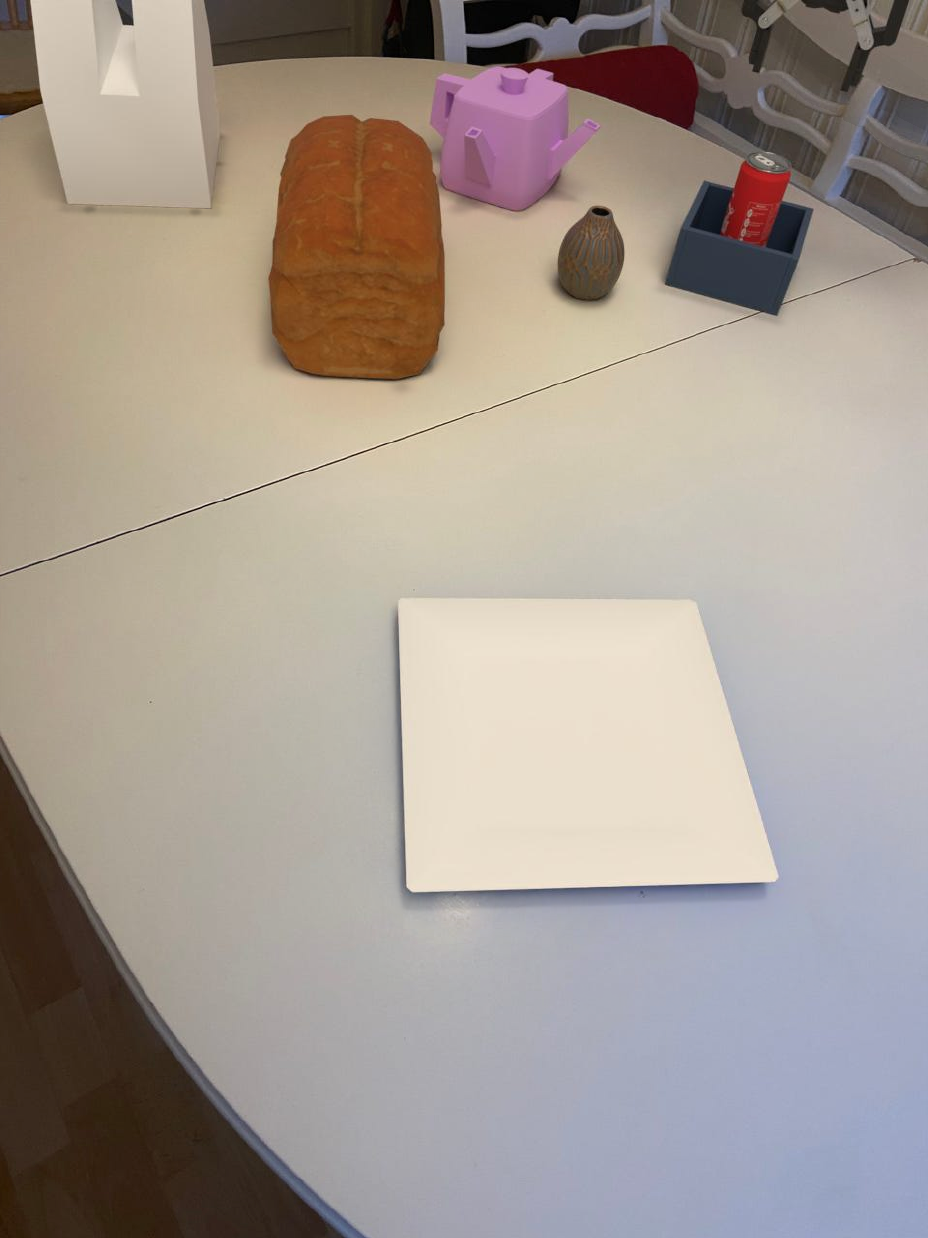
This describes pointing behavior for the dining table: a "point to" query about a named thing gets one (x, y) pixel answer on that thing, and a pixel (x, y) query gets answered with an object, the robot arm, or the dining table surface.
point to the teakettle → (504, 134)
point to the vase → (591, 255)
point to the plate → (569, 748)
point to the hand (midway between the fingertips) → (799, 79)
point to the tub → (737, 253)
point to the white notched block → (129, 101)
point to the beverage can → (756, 198)
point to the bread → (358, 251)
